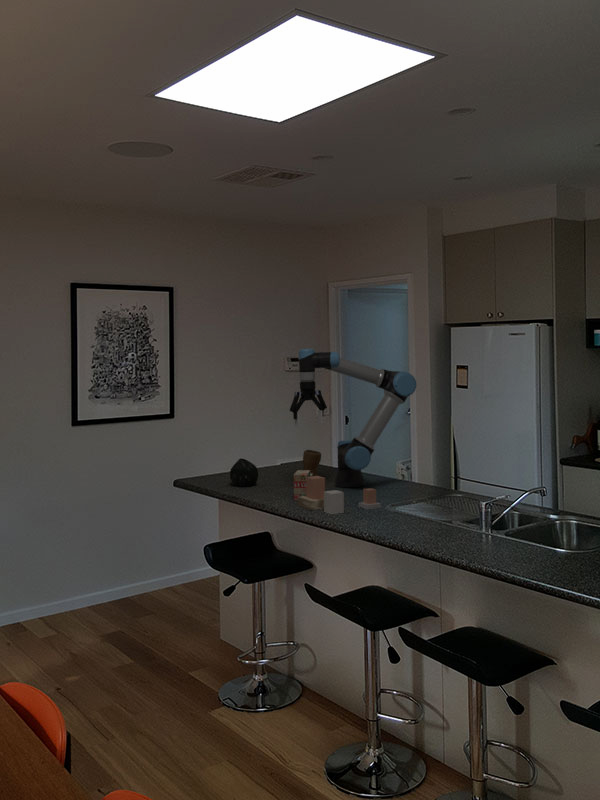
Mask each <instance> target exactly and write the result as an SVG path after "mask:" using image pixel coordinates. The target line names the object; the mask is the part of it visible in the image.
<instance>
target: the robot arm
mask: <svg viewBox="0 0 600 800" xmlns="http://www.w3.org/2000/svg"><path fill="white" fill-rule="evenodd" d="M298 363H299V364H298V365H299V366H298V367H299V368H298V369H299V372H298V373H299V389H300V391H295V392H294V397H293V400H292V402H291V405H290V407H289V412H291V413H293V415H292V416H293V420H294V426H295V427H300V412H299V411H300V409H301V407H303V406H302V405H303V404H304V403H305V402H306V401H312V402H313V404H314V405H315V406H316V407H317V408H318V410H317V419H318V421H317V424H318V425H323V424H324V420H323V419H324V418H323V417H324V415H325V414H324V412H325V410H326V409H327V408H328V406H327V404H326V402H325V400H324V397H323V396H322V391H321V390H320V389H317V390H316V369H325V370H329V371H332V372H336V373H338V374H341V375H345V376H348V377H351V378H354V379H357V380H360V381H362V382H363V381H364V382H365V383H366V382H367V383H369V384H372V385H375V386H376V388H378V389H382V390H383V393H384V394H383V397H382V398H381V400H380V402H379V403H378V405H377V406H376V408H375V410H374V411H373V413H372V414H371V415H370V417H369V419H368V421H367V422H366V424H365V426H363V429H362V430H361V432H360V433H359V435H358V436H354V437H353V438H352V439H350V440H349V439H348V440H339V441H338V442H337V472H336V475H335V478H334V486H335V487H337V486H338V488H343V487H356V488H361V486H362V487H365V479H364V476H363V473H362V470H363V469H366V468H368V465H370V462H371V458H372V457H371V456H372V454H373V453H374V451H375V447H374V446H375V444H376V443H377V440H378V439H379V437H380V436H381V434H382V433H383V431H384V430H385V429H386V427H387V426H388V423H389V422H390V420H391V419H392V417H393V415H394V413H395V412H396V411H397V409H398V407H399V406H400V405H401V404H405V403H406V400H407V398H408V397H410V396H412V395H413V394H414V393H415V391H416V389H417V380H416V378H415V376H414V375H412V374H411V373H410V372H407V371H400V370H399V371H398V370H397V371H395V370H388V369H384V368H381V369H378V368H375V367H373V366H372V367H371V366H369V365H365V364H362V363H358V362H355V361H352V360H350V359H345V358H344V357H343V358H342V357H340V354H339V352H338V351H318V352H315V349H314V348H300V349H299V351H298ZM316 396H317V397H316Z"/></svg>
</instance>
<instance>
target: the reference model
mask: <svg viewBox="0 0 600 800" xmlns="http://www.w3.org/2000/svg"><path fill="white" fill-rule="evenodd" d="M362 489H363V491H362V493H363V495H362V496H363V497H362V499H363V500H362V501H361V502H358V508H360V507H362V508H361V509H363V508H364V510H366V509H367V510H366V511H369V509H370V510H376V509H377V508H378V509H381V508H382V503H381V502H377V489H376V488H373V487H372V488H362Z"/></svg>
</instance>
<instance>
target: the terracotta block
mask: <svg viewBox="0 0 600 800" xmlns="http://www.w3.org/2000/svg"><path fill="white" fill-rule="evenodd" d="M325 491H326V477H322V476H320V475H319V476H312V477H306V497H307V498H310V499H313V500H314V499H322V498H324V492H325Z"/></svg>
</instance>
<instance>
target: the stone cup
mask: <svg viewBox="0 0 600 800" xmlns="http://www.w3.org/2000/svg"><path fill="white" fill-rule="evenodd" d="M302 456H303V457H302V464H303V470H310V473H313V476H320V475H319V474H318V473H317V471H318V467H319V465H320V463H321V459H322V452H320V451H317V450H313V449H305V450H304V452H303V455H302ZM297 471H298V470H295V472H294V474H295V473H296V472H297Z"/></svg>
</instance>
